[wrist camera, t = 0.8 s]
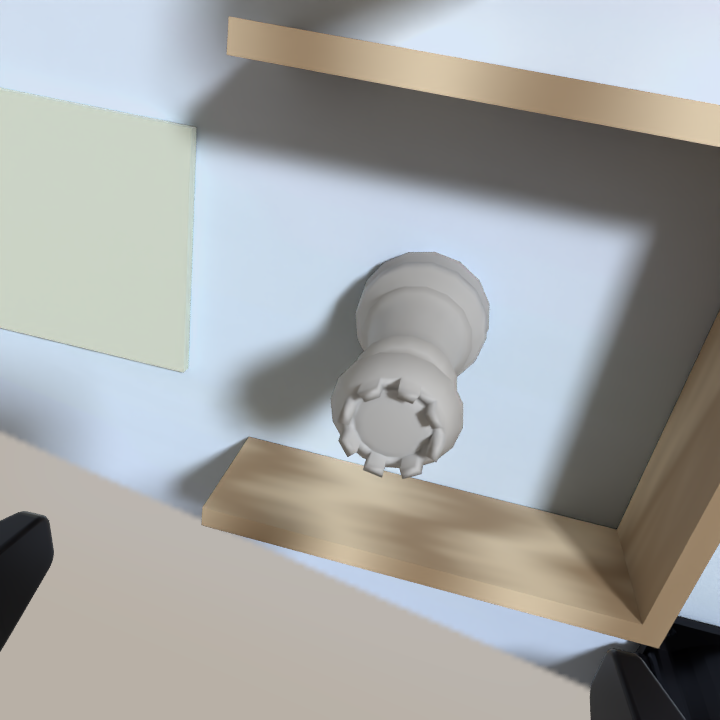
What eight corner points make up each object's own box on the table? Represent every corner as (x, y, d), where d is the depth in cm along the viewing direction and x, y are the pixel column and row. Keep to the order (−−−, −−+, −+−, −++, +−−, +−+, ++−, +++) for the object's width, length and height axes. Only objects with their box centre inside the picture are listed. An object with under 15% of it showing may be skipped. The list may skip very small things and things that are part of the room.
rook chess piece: (377, 376, 23) (325, 519, 15) (346, 261, 21) (271, 361, 14) (500, 358, 21) (504, 504, 14) (477, 234, 20) (469, 329, 13)
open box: (838, 127, 17) (948, 146, 13) (630, 550, 24) (658, 648, 20) (286, 27, 18) (228, 16, 14) (247, 452, 25) (201, 525, 21)
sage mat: (196, 127, 20) (191, 128, 20) (188, 368, 24) (183, 372, 24) (-53, 77, 21) (-63, 77, 20) (-20, 317, 25) (-28, 321, 24)
